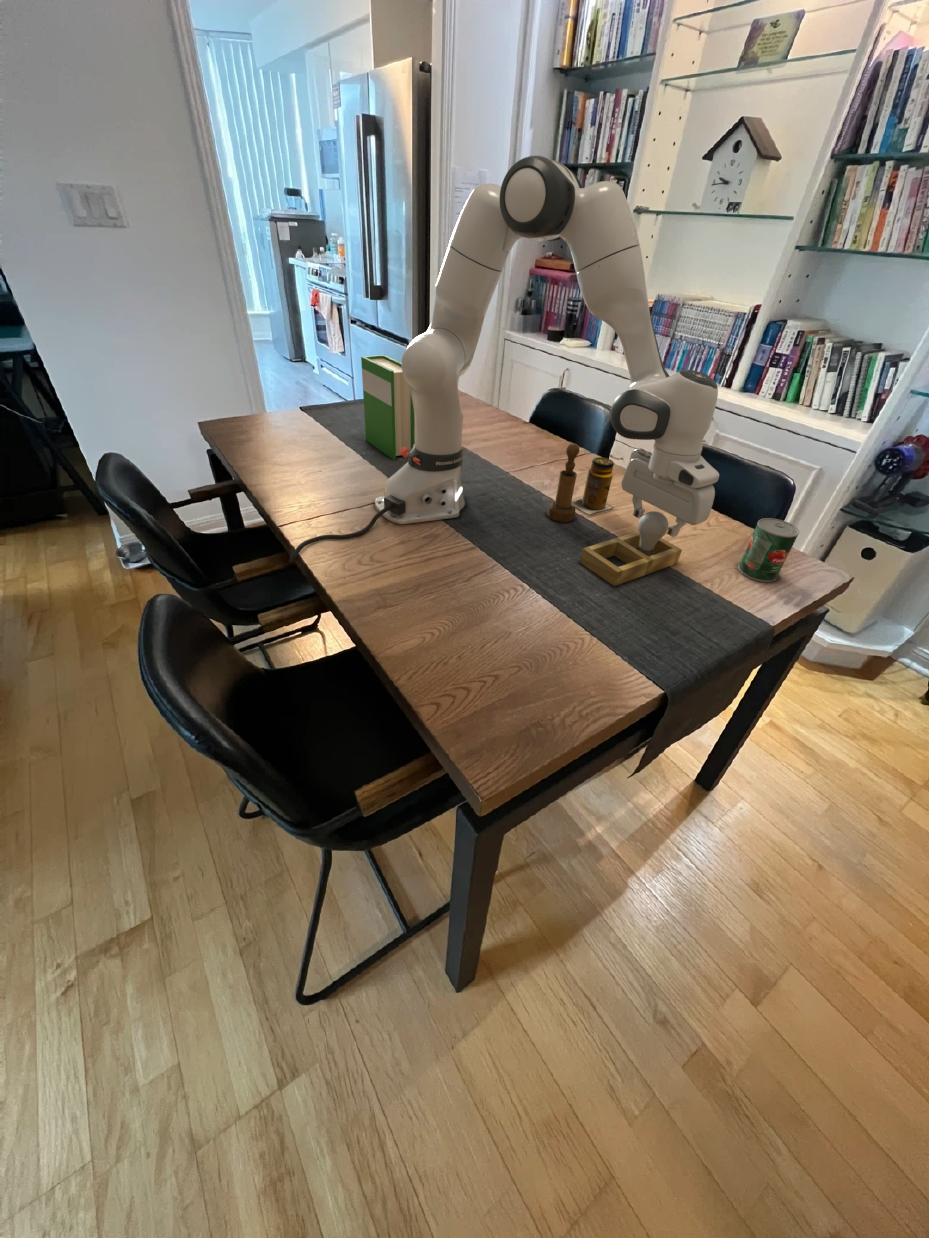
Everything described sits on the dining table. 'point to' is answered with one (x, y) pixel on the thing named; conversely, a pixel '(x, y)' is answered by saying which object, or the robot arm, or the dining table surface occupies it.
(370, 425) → the hardback book
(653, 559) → the rack
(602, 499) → the condiment
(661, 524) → the lightbulb
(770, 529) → the canned tomato
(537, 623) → the dining table surface
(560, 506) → the mortar and pestle
